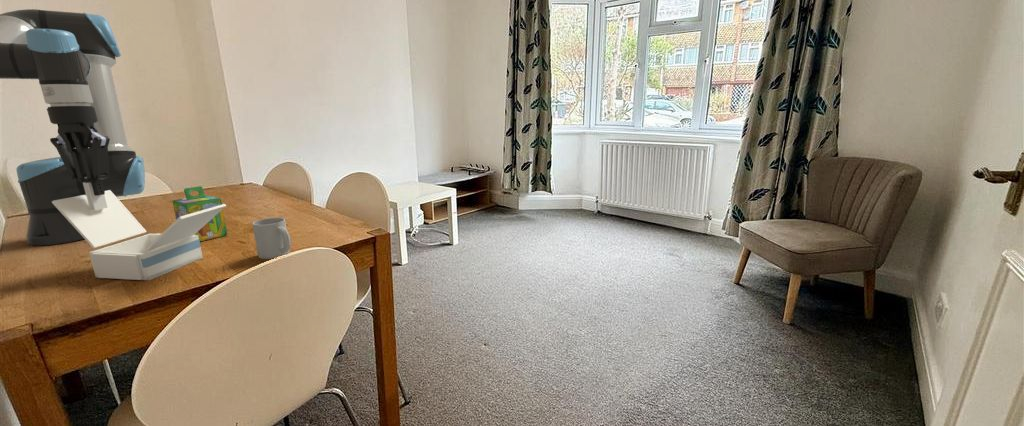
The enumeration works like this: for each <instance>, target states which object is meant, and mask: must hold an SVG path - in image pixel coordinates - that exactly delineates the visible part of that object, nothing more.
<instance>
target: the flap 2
mask: <svg viewBox="0 0 1024 426" xmlns="http://www.w3.org/2000/svg"><path fill="white" fill-rule="evenodd" d="M226 207H227V205H226V204H225V203H222V205H219V206H215V207H212V208H208V209H205V210H201V211H198V212H194V213H191V214H187V215H184V216H181V217H179V218H178V219H177V220H176V219H175V220H174V222H172V224H171V223H170V225H169V226H168V227H166V229H165V230H164V231H163V232H161V233H162V234H161V235H160V236H158V237H157V238H156V239H155V240H154V241H153V242H152V243H151V244H150V245H149V246H148V247H147V248H146V249H145V250H146V251H149V250H152V249H155V248H158V247H161V246H163V245H166V244H169V243H172V242H175V241H178V240H181V239H184V238H186V237H189V236H192V235H194V234H195V233H197V232H198V231H199V230H200V229H201V228H202V227H203V226H204V225H206V224H207V223H208V222H209V221H210V220H211V219H212V218H213V217H214V216H216V215H217V214H218V213H219V212H220V211H221V210H222V209H223V210H224V209H225V208H226Z"/></svg>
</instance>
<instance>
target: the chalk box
mask: <svg viewBox="0 0 1024 426" xmlns="http://www.w3.org/2000/svg"><path fill="white" fill-rule="evenodd" d="M195 191H196V192H198V194H197V195H192V194H191V193H192V192H195ZM183 193H184V196H185V198H179V199H178V198H177V199H174V200H172V201H171V202H172V206H173V210H174V215H175V216H174V217H175V221H176V220H177V219H178V218H179V217H181V216H184V215H187V214H191V213H194V212H198V211H201V210H205V209H208V208H212V207H215V206H219V205H222V204H223V202H222V199H221V198H220V197H216V196H214V195H206V194H205V192H204V189H203V187H202V186H200V185H198V186H191V187H185V188H184V189H183ZM226 225H227V224H226V218H225V214H224V208H223V209H222V210H221V211H220V212H219V213H218V214H217V215H216V216H214V217H213V218H212V219H211V220H210V221H209V222H208V223H207V224H206V225H204V226H203V227H202V228H201V229H200V230H199V231H198V232H197V233H195V234H194V235H198V237H199V240H200V242H204V241H208V240H212V239H213V240H214V239H218V238H222V237H223V238H224V237H227V236H228V231H227V230H228V229H227V226H226Z"/></svg>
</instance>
